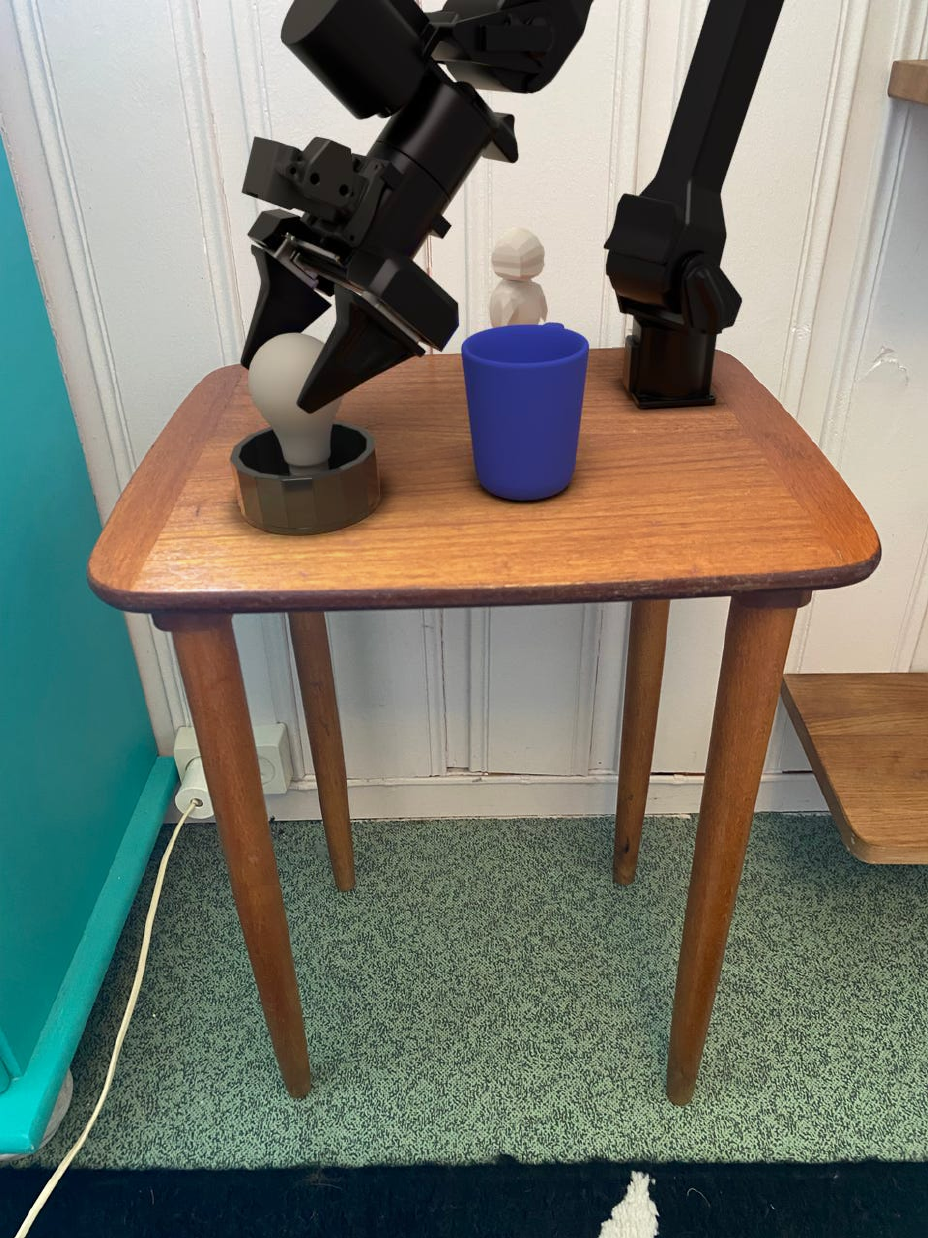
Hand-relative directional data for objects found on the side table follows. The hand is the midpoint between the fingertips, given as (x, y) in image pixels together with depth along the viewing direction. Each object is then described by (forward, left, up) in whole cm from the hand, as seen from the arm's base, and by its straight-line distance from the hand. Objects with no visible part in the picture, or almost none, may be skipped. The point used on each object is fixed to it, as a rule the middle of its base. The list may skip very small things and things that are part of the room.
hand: (272, 387), depth 58 cm
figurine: (-18, -26, -9) cm, 33 cm away
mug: (-17, -3, -9) cm, 19 cm away
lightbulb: (-1, -1, -8) cm, 8 cm away
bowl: (-1, -1, -8) cm, 9 cm away
